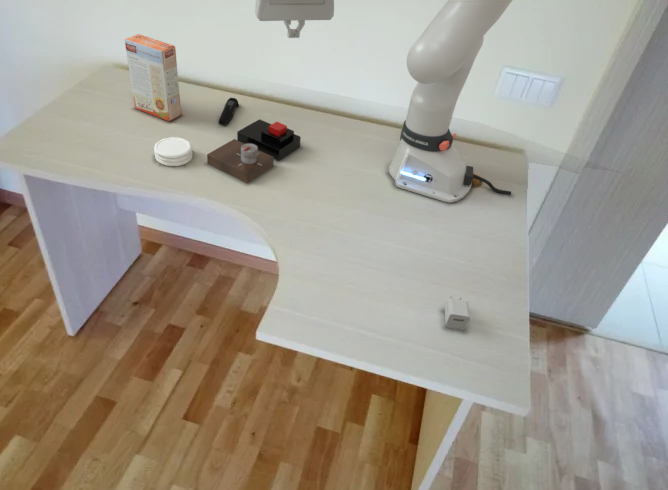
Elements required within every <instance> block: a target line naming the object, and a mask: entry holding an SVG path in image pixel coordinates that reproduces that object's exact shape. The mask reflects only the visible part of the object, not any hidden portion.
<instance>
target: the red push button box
mask: <svg viewBox="0 0 668 490" xmlns="http://www.w3.org/2000/svg"><path fill="white" fill-rule="evenodd" d="M272 124H273V123H270V122H267V121H264V119H263V120H262V119H257V120H256V121H254V122H252V123H250V124H249V125H246V126H245V127H243V128H241V129H240V130H238V131H236V137H237V139H236V140H237V141H240V142H242V143H244V144H254V145H256V146H257V147H258V150H259V151H262V152H264V153H266V154H268V155H270V156H273V157H274V161H277V162H280V161H282V160H284V159H285V158H286V157H288V156H289V155H291V154H293V153H294V152H295V151H297V150H299V149H300V148H301V139H302V136H300V135H297V134H295V131H294V130H293V129H290V128H288V127H287V132H286V133H284V134H283V135H281V136H276V135H274V134H272V133H270V132H269V126H270V125H272Z"/></svg>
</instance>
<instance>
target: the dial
mask: <svg viewBox="0 0 668 490" xmlns="http://www.w3.org/2000/svg"><path fill="white" fill-rule="evenodd" d="M257 160H258V147H257V146H256V145H254V144H244V145H242V146H241V161H242V162H243V163H246V164H253V163H256V162H257Z"/></svg>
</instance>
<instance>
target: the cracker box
mask: <svg viewBox="0 0 668 490" xmlns="http://www.w3.org/2000/svg"><path fill="white" fill-rule="evenodd" d="M124 45H125V51H126V58H127V65H128V73H129V77H130V85H131V91H132V98H133V104H134V105H133V106H134V109H135V110H138V111H141V112H144V113H146V114H149V115H151V116H153V117H157V118H158V119H162V120H164V121H166V122H172V121H173V120H175V119H176V118H179V117H180V116H182V108H181V96H180V86H179V74H178V64H177V63H178V62H177V51H176V46H175V45H174V44H171V43H168V42H164V41H161V40H158V39H154V38H152V37H149V36H146V35H142V34H141V33H140V34H134V35H132V36H129V37H127V38H124Z"/></svg>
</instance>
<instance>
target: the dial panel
mask: <svg viewBox="0 0 668 490" xmlns="http://www.w3.org/2000/svg"><path fill="white" fill-rule="evenodd" d="M242 145H244V143H242V142H240V141H237V139H235V138H234V139H233V138H232V140H229V141H228V142H226V143H224V144H222V145H221V146H219V147H217V148H215V149H214V150H212V151H210V152H209V153H207V154H206V161H207V162H206V163H207V165H209V166H210V167H213V168H215V169H217V170H219V171H220V172H223V173H225V174H227V175H229V176H230V177H232V178H235V179H237V180H239V181H241V182H243V183H245V184H249V183H251V182H252V181H254V180H255V179H257V178H258V177H260V176H261V175H263V174H264V173H266V172H268V171H269V170H271V169H272V168H273V167H274V163H275V162H274V161H275V159H274V157H273V156H270V155H268V154H266V153H264V152H262V151H259V150H258V160H257V162H256V163H253V164H246V163H243V162H242V161H241V146H242Z"/></svg>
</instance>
